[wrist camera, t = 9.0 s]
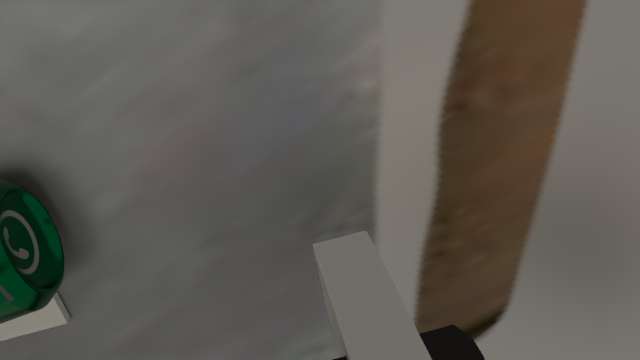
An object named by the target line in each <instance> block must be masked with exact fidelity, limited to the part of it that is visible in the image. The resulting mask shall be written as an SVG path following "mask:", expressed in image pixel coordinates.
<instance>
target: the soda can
mask: <svg viewBox="0 0 640 360" xmlns="http://www.w3.org/2000/svg"><path fill="white" fill-rule="evenodd" d="M63 276H64V254H63V248H62V244H61V240H60V237H59V234H58V231H57V229H56V226H55V224H54V222H53V220H52V218H51V216H50V215H49V213H48V211H47V210H46V208H45V207H44V206H43V204H42V203H41V202H40V201H39V200H38V199H37V197H36V196H34V195H33V194H32V193H31V192H30V191H29V190H27V189H26V188H24V187H22V186H19V185H17V184H14V183H11V182H7V181H4V180H0V324H2V323H4V322H7V321H10V320H13V319H15V318H18V317H21V316H24V315H26V314H29V313H32V312H35V311H38V310H40V309H43V308H44V307H45V306H47V305H48V304H49V302H50V301H51V300H52V298H53V297H54V295H55V294H56V292H57V291H58V289H59V287H60V285H61V283H62V280H63Z"/></svg>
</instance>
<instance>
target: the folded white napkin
mask: <svg viewBox="0 0 640 360" xmlns="http://www.w3.org/2000/svg"><path fill="white" fill-rule="evenodd" d="M69 317H70V316H69V314H68V312H67V310H66V308H65V306H64V304H63V303H62V301H61V299H60V297H59V295H58V293H57V292H56V294H55V295H54V297H53V298H52V300H51V301H50V302H49V304H48V305H47V306H45V307H44V308H43V309H40V310H38V311H35V312H32V313H29V314H26V315H24V316H21V317H18V318H15V319H13V320H10V321H7V322H4V323H2V324H0V341H3V340H7V339H11V338H15V337H18V336H22V335H26V334H30V333H34V332H37V331H41V330H45V329H49V328H52V327H56V326H60V325H64V324H67V323H68V320H69Z"/></svg>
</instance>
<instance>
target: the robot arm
mask: <svg viewBox="0 0 640 360" xmlns="http://www.w3.org/2000/svg"><path fill="white" fill-rule="evenodd" d="M312 246H313V250H314V255H315V259H316V264H317V268H318V273H319V278H320V282H321V287H322V291H323V296H324V300H325V305H326V310H327V314H328V319H329V322H330V326H331V329H332V332H333V335H334V339H335V342H336V345H337V348H338V352H339V355H340V358H337V359H333V360H485V359H484V356H483V355H482V353H481V351H480V350H479V348H478V347H477V345H476V343H475V342H474V340H473V339H472V338H471V337H470V336H469V335H467V334H466V333H464V332H463V331H462V330H460V329H459V328H458V327H456V326H455V325H450V326H446V327H443V328H439V329H436V330H432V331H429V332H425V333H421V334H419V333H418V331H417V329H416V327H415V325H414V323H413V321H412V319H411V317H410V315H409V313H408V311H407V309H406V308H405V306H404V304H403V302H402V300H401V298H400V296H399V294H398V292H397V290H396V288H395V286H394V284H393V282H392V280H391V278H390V276H389V274H388V272H387V270H386V268H385V266H384V264H383V262H382V260H381V258H380V256H379V254H378V252H377V250H376V248H375V246H374V244H373V243H372V241H371V239H370V237H369V235H368V233H367V231H366V230H365V231H361V232H358V233H354V234H350V235H346V236H342V237H338V238H334V239H331V240H327V241H323V242H319V243H315V244H312Z"/></svg>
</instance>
